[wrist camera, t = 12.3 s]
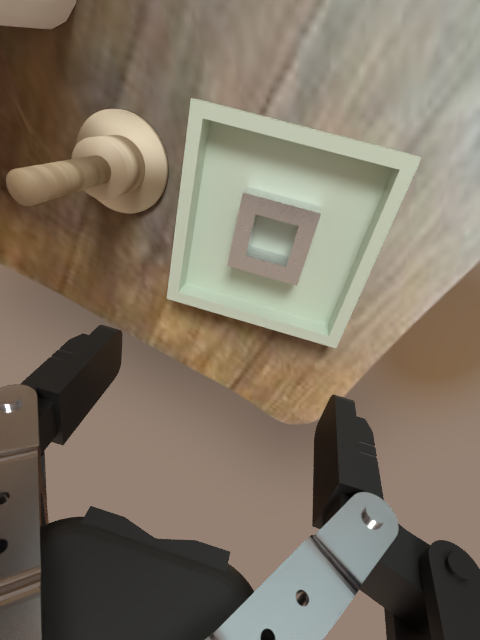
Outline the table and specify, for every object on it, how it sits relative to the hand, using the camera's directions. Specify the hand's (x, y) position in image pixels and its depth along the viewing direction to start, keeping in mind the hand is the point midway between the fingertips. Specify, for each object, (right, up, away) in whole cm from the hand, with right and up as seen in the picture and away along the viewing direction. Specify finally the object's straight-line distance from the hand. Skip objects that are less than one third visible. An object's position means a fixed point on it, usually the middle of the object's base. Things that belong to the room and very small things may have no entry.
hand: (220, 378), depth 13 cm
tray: (+4, +10, +17) cm, 20 cm away
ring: (+4, +10, +17) cm, 20 cm away
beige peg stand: (-9, +15, +17) cm, 25 cm away
